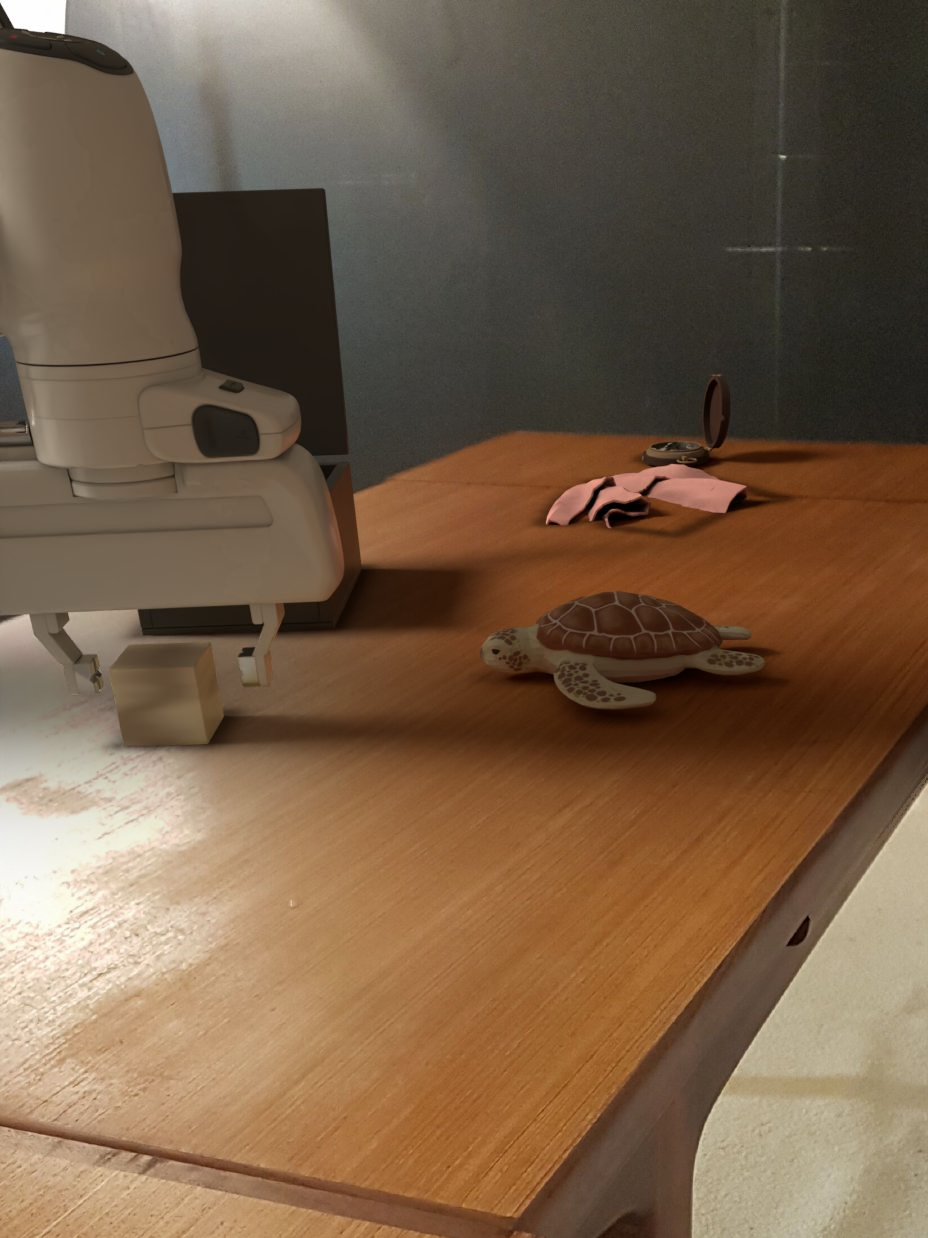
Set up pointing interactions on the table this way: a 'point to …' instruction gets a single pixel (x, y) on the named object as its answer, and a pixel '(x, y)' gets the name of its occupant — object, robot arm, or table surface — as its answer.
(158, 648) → the block
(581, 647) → the decorative turtle
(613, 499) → the cloth
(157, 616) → the box
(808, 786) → the table surface
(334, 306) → the box lid
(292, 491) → the robot arm
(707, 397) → the compass
